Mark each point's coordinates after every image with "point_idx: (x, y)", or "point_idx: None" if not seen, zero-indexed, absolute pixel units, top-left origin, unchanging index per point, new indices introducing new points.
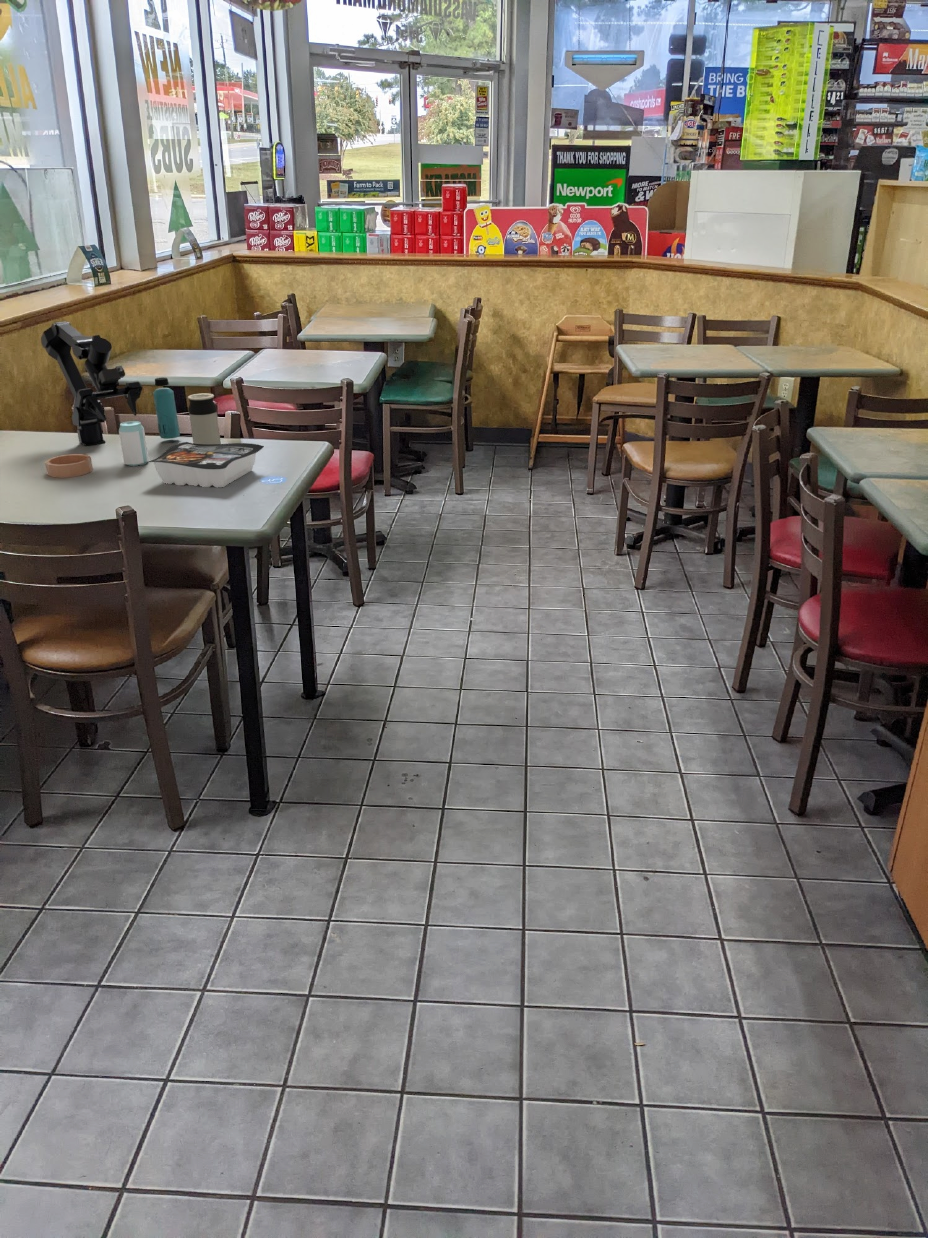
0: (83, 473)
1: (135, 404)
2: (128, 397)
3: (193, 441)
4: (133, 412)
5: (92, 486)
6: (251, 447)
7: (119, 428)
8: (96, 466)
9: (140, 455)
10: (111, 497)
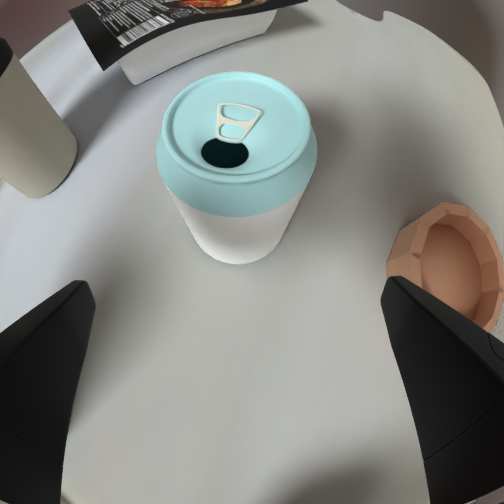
0: (420, 216)
1: (7, 330)
2: (2, 484)
3: (50, 138)
4: (82, 323)
5: (405, 108)
6: (84, 5)
7: (311, 154)
8: (370, 286)
9: (236, 159)
10: (373, 42)
